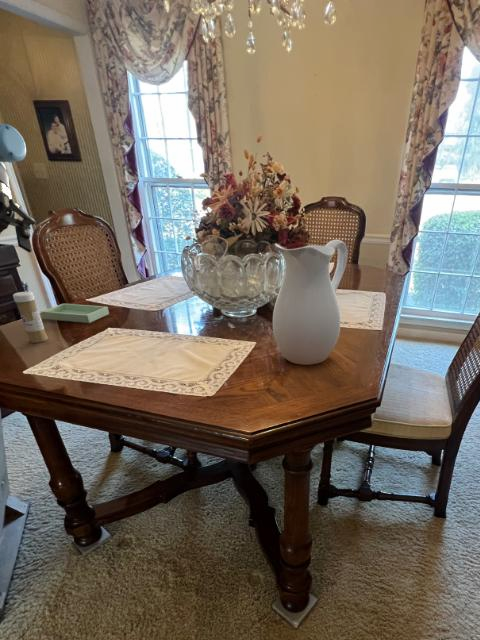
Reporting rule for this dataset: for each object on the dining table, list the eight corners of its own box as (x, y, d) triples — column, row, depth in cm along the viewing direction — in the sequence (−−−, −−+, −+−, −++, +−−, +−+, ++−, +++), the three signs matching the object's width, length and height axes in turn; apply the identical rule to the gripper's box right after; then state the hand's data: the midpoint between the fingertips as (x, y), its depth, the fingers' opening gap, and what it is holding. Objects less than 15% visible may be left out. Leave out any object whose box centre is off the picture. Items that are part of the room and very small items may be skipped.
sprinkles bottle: (25, 342, 106) (7, 294, 100) (38, 337, 110) (21, 290, 103) (40, 344, 106) (23, 295, 99) (52, 338, 110) (36, 291, 103)
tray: (42, 319, 125) (40, 311, 124) (65, 310, 134) (63, 303, 132) (89, 322, 122) (87, 315, 121) (109, 313, 130) (107, 306, 129)
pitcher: (308, 376, 89) (311, 250, 75) (260, 357, 98) (254, 242, 85) (366, 348, 104) (376, 239, 90) (319, 334, 114) (322, 233, 100)
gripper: (43, 186, 101) (56, 245, 94) (-22, 236, 106) (-14, 295, 99) (15, 164, 94) (26, 226, 87) (-54, 219, 99) (-48, 281, 92)
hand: (5, 263), depth 93 cm, fingers open, 13 cm apart
